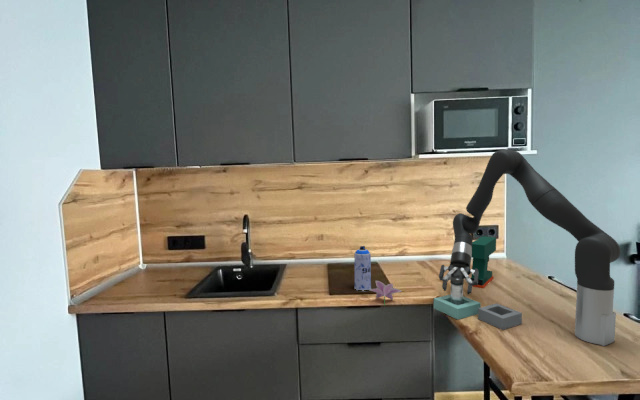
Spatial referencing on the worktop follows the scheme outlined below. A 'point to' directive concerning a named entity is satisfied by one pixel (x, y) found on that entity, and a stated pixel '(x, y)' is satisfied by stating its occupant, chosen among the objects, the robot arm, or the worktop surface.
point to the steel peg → (457, 290)
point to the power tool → (482, 259)
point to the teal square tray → (456, 307)
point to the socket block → (500, 316)
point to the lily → (384, 290)
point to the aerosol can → (362, 269)
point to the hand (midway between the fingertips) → (456, 291)
